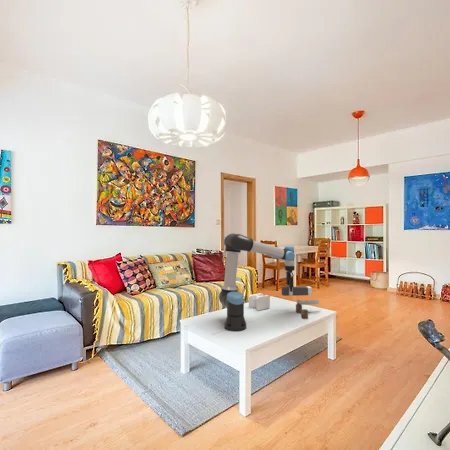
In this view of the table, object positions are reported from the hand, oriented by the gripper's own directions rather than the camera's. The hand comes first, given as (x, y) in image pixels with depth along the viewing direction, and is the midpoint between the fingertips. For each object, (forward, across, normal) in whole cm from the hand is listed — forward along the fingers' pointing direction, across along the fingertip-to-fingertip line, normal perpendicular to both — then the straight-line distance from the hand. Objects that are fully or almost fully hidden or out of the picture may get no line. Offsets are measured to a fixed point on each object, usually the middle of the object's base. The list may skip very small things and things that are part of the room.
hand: (289, 294), depth 227 cm
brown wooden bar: (+15, +5, +8) cm, 18 cm away
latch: (+9, -2, +15) cm, 17 cm away
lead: (0, 0, +5) cm, 5 cm away
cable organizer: (+15, -14, -23) cm, 31 cm away
